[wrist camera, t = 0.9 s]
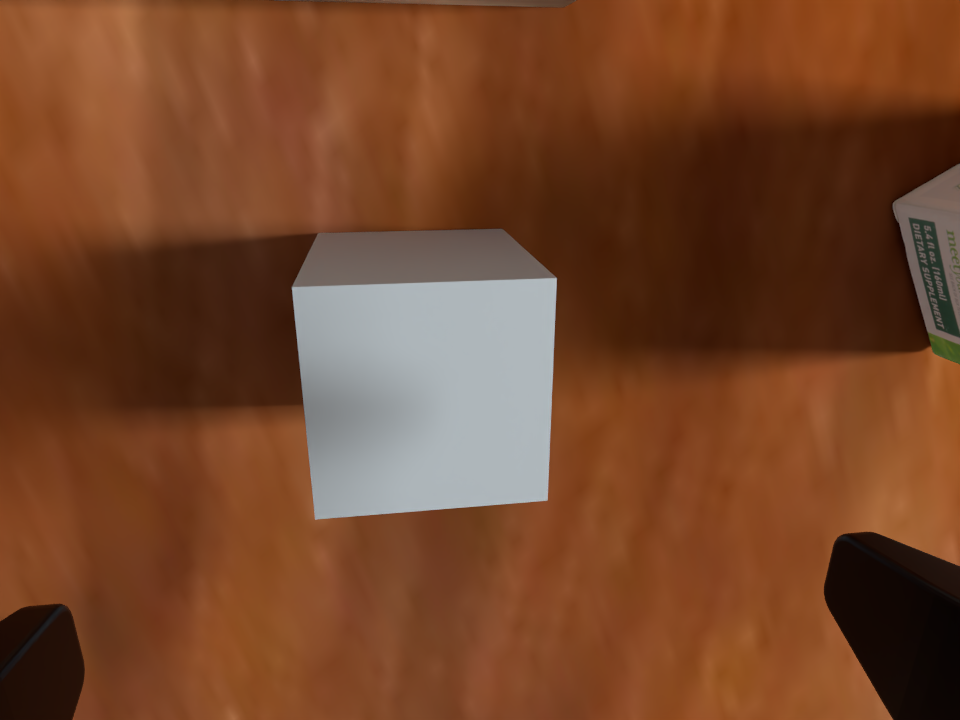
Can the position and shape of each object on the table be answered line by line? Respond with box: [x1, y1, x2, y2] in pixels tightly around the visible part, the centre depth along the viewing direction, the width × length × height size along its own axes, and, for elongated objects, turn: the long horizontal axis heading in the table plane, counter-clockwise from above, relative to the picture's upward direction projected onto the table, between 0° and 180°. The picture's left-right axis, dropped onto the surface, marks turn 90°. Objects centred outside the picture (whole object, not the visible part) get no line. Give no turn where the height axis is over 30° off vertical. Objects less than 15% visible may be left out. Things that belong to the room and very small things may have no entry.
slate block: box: [292, 229, 557, 519], centre depth 16 cm, size 5×5×6 cm
